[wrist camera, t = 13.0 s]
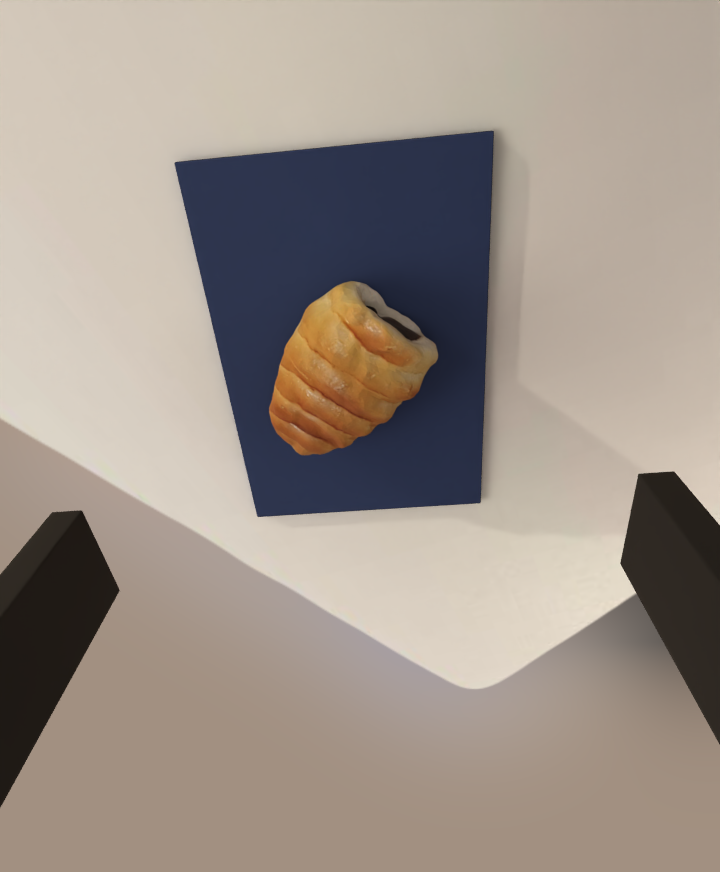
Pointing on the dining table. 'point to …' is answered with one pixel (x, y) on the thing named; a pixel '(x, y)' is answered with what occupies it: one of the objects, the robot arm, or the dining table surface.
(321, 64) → the dining table surface
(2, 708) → the robot arm
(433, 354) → the pastry
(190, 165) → the cloth mat
